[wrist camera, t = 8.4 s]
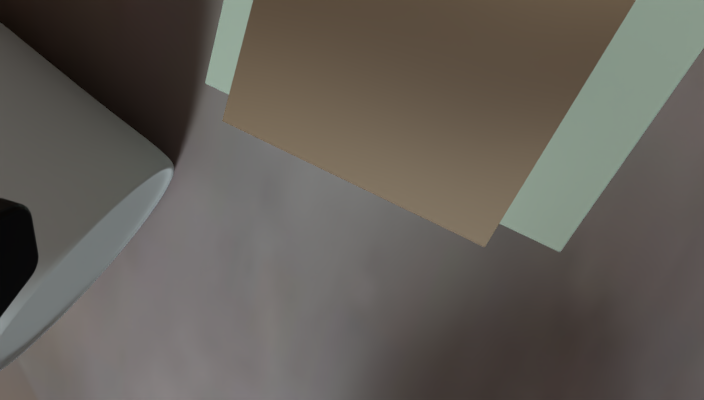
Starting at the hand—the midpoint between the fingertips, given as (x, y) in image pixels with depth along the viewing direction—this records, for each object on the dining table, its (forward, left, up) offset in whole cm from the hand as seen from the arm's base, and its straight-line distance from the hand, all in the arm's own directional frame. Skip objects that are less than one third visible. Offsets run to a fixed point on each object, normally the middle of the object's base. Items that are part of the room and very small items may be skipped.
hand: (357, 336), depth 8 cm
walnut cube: (+1, -2, -9) cm, 9 cm away
